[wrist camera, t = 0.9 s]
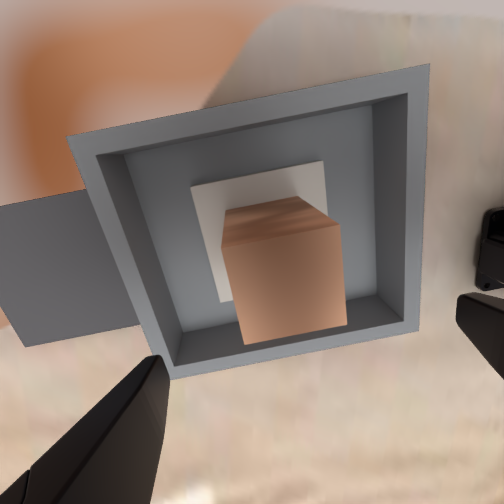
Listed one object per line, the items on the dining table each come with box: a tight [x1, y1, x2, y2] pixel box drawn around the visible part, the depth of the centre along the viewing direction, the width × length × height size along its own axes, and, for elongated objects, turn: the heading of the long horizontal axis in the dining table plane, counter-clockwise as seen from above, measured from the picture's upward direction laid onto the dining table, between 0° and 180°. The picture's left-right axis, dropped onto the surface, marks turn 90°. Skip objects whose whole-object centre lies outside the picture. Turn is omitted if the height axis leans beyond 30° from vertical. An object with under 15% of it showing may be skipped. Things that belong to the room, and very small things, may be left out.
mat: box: [0, 189, 140, 347], centre depth 19 cm, size 10×10×1 cm
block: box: [221, 196, 347, 345], centre depth 14 cm, size 4×4×7 cm
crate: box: [66, 64, 430, 380], centre depth 17 cm, size 17×15×4 cm
